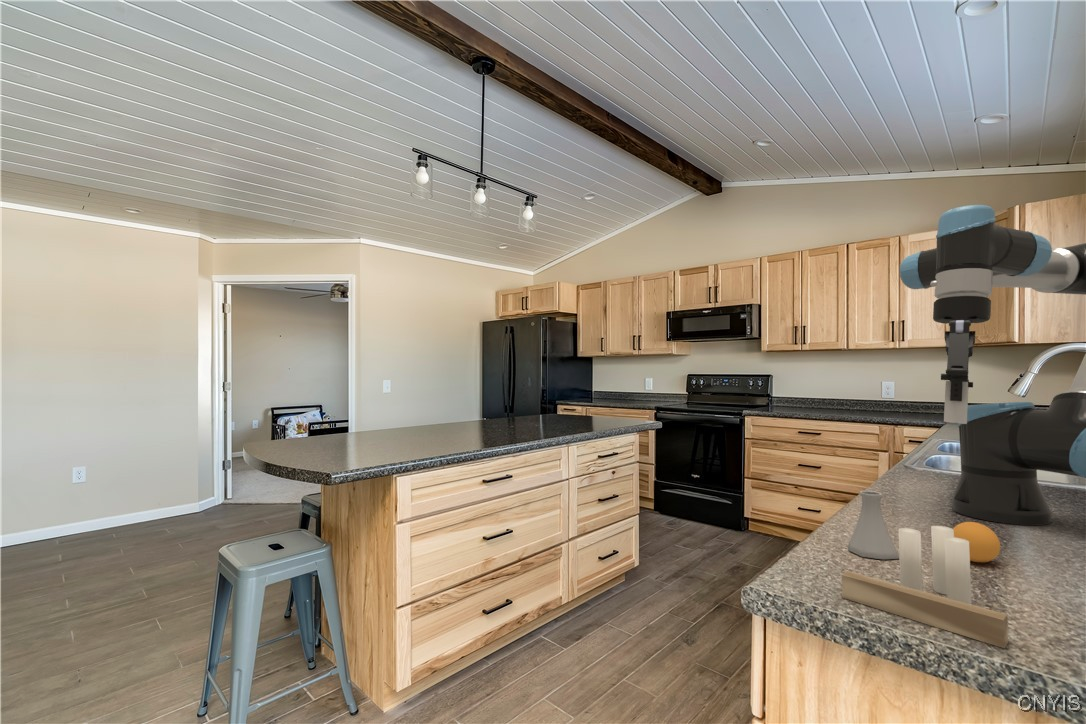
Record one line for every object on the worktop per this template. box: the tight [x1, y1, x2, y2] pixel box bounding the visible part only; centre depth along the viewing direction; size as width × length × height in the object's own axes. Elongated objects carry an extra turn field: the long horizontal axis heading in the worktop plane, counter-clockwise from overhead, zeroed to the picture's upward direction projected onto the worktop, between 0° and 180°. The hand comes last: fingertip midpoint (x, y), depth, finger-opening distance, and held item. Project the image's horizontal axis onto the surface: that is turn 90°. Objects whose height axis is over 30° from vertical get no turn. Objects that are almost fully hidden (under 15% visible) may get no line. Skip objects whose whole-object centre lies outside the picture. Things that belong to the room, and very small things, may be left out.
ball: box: [952, 521, 1001, 563], centre depth 78 cm, size 6×6×6 cm
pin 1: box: [898, 527, 924, 592], centre depth 67 cm, size 2×2×8 cm
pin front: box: [930, 525, 954, 596], centre depth 68 cm, size 2×2×8 cm
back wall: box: [841, 570, 1009, 649], centre depth 60 cm, size 2×16×3 cm, turn 38°
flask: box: [847, 490, 900, 560], centre depth 82 cm, size 7×7×10 cm
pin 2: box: [945, 537, 972, 605], centre depth 63 cm, size 2×2×8 cm
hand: (955, 423), depth 84 cm, fingers open, 13 cm apart
